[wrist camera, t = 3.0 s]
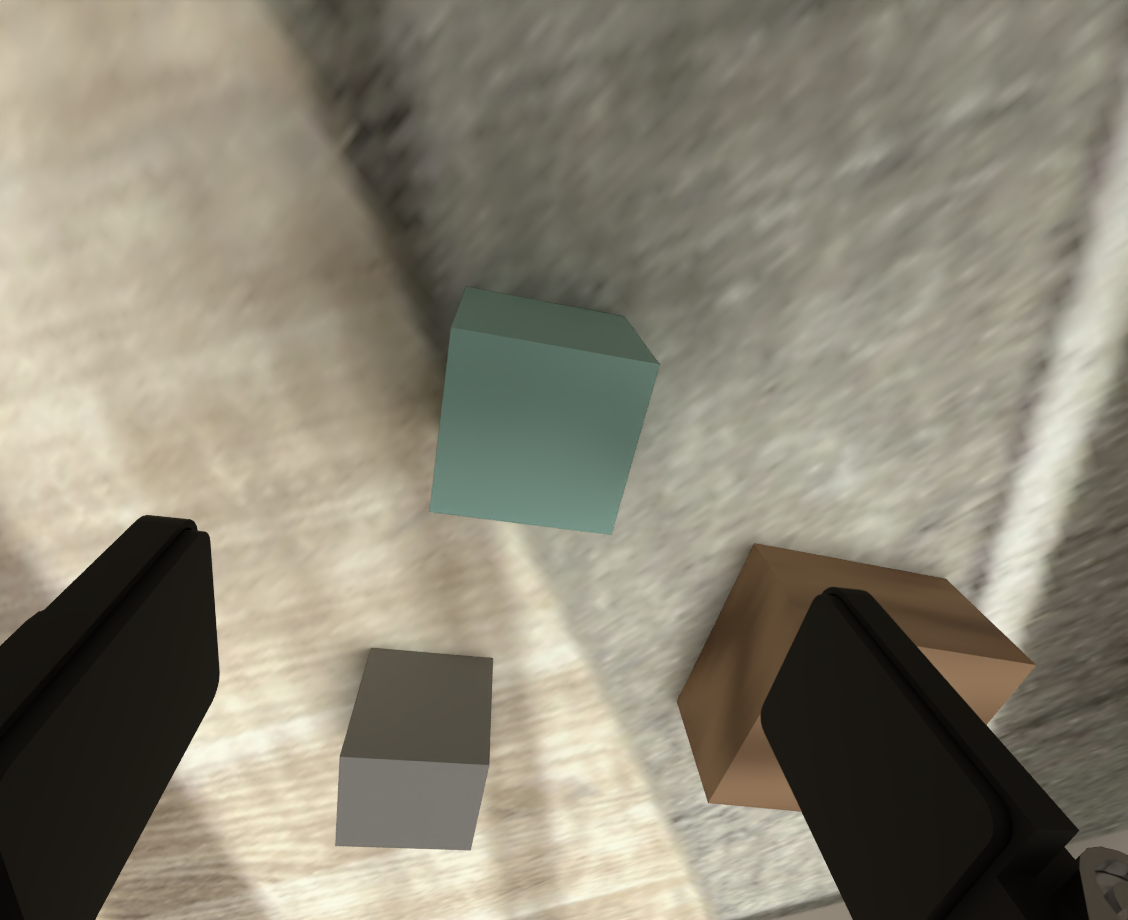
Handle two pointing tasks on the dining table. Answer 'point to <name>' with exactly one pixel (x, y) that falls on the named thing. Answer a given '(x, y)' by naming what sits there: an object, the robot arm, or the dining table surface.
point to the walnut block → (765, 634)
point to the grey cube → (416, 752)
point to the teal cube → (539, 413)
